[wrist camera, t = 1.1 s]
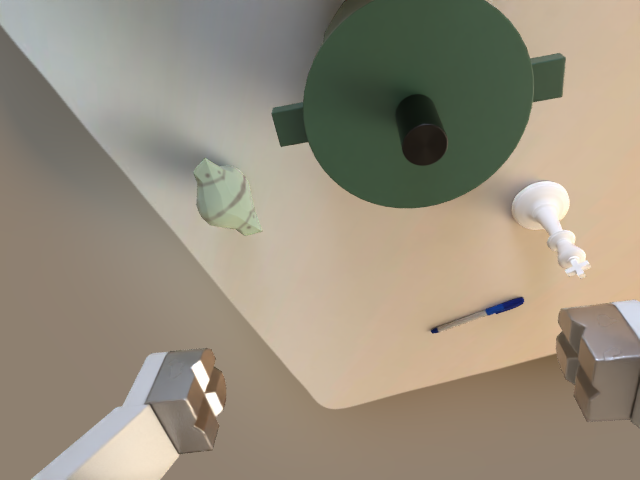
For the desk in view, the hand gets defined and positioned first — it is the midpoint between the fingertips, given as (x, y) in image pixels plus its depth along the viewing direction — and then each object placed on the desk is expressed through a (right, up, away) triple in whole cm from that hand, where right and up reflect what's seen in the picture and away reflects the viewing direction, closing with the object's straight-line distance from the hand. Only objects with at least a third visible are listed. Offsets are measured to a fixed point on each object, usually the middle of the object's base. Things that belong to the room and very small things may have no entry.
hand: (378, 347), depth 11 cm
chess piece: (+19, +6, +32) cm, 38 cm away
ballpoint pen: (+16, -5, +41) cm, 45 cm away
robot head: (-9, +9, +32) cm, 35 cm away
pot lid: (+4, +11, +18) cm, 21 cm away
